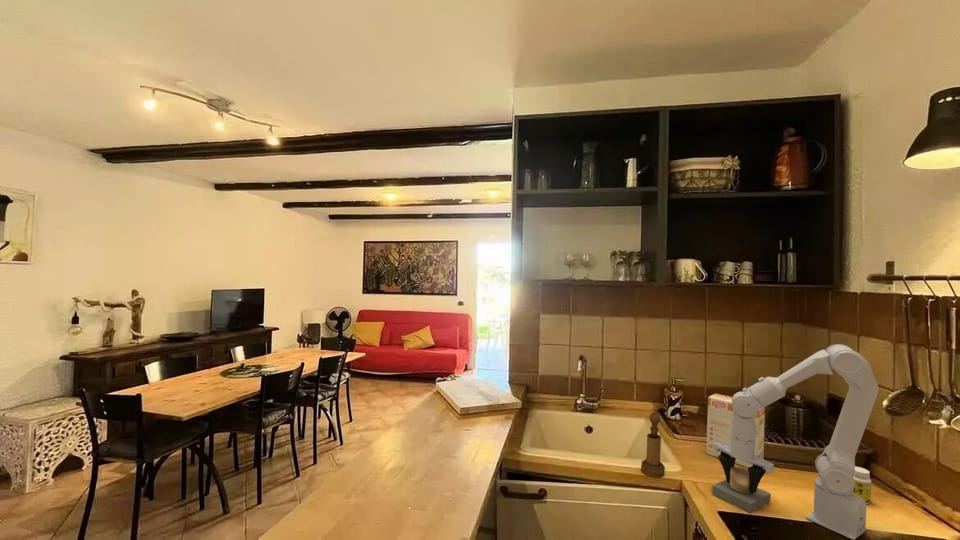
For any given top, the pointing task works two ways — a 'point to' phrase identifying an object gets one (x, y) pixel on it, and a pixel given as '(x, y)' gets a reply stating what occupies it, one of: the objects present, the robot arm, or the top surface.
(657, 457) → the mortar and pestle
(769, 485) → the top surface
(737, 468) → the beech peg
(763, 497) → the grey slotted base
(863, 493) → the supplement bottle
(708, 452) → the coffeecake box
